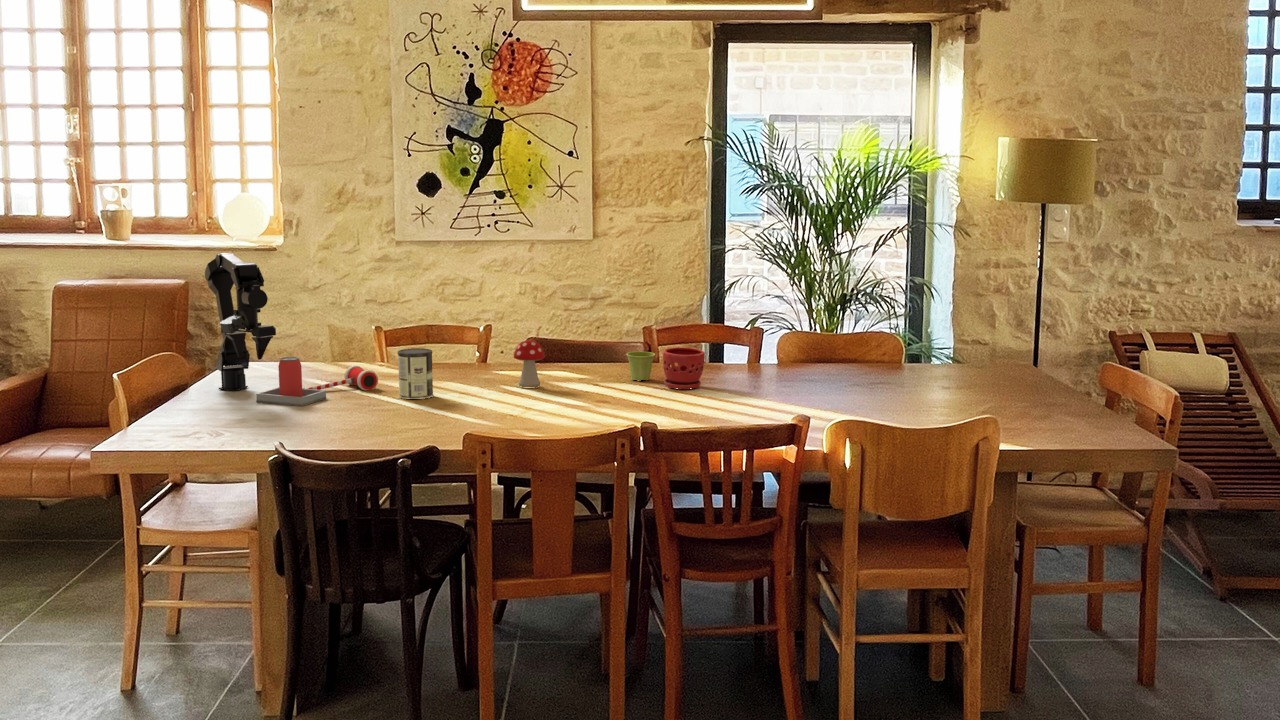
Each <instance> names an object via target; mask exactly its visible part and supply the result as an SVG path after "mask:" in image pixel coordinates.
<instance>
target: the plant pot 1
mask: <svg viewBox="0 0 1280 720" xmlns="http://www.w3.org/2000/svg"><path fill="white" fill-rule="evenodd" d="M625 355H626V356H627V359H628V365H629V373H630V379H631V381H633V380H640V381H639V382H641V380H649V379H651V376H652V375H651V373H652V368H653V367H652V366H653V362H654V359H655V356H656V353H654V352H650V351H629V352H627V353H626V354H625ZM649 381H650V380H649Z"/></svg>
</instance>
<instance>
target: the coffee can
mask: <svg viewBox="0 0 1280 720" xmlns="http://www.w3.org/2000/svg"><path fill="white" fill-rule="evenodd" d="M397 358H398V359H397V362H398V363H397V364H398V366H397V367H398V389H399V391H398V392H399V393H398V397H400V398H399V399H401V398H402V399H401V400H406V399H422V400H425V399H424V398H428V399H430V398H429V397H432V396H433V397H434V390H433V389H434V387H433V386H434V385H433V381H434V380H433V378H434V377H433V350H432V349H429V348H420V347H419V348H418V347H417V348H415V347H414V348H404V349H400V350H397ZM433 397H432V398H433Z"/></svg>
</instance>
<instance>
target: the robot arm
mask: <svg viewBox="0 0 1280 720" xmlns="http://www.w3.org/2000/svg"><path fill="white" fill-rule="evenodd" d="M204 278H205V280H206V282H207V285H208V288H209V289H210V291H211V292H212V293H213V294H214V295H215V300H216V305H217V311H218V318H219V326H220V331H221V332H220V333H221V334H222V341H221V343H220V346H219V349H218V350H219V352H218V354H217V357H216V361H215V365H216V366H215V367H216V370H217V371H219V372H220V374H221V378H220V379H221V387H220V386H219V387H218V390H219V389H224V390H223V391H230V390H237V391H240V390H239V389H241V390H243V389H242V388H244V389H248V388H249V385H246V383H247V381H246V374H245V370H249V366H250V356H251V354H250V353H249V350H248V349H247V343H246V336H247V333H249V334H250V333H251V336H252V337H251V339H252V341H253V342H254V343H255V351H256V358H257V360H262V359H263V357H264V355H265V352H266V349H267V347H268V345H269V343H270V342H271V339H273V338H274V336H276V335H277V328H276V327H275V326H274V325H270V324H269V325H267V324H264V325H262V322H259V318H258V317H259V316H258V315H259V313H261V312H262V311H261V309H263V308H264V307H265V306H266V304H267V303H268V295H267V293H266V292H265V291H264V290H262V289H261V287H265V285H264V283H265V280H264V276H263V274H262V271H261V270H260V267H259V266H258V265H257V263H256V262H245V261H243V260H241V259H240V258H238V257H237V256H236V254H235V253H232V252H222V253H221V252H219V253H217V254H216V256H215V258H214V259H212V260H211V261H209V262H208V263H207V264H206V267H205V269H204ZM233 286H235V291H236V292H235V293H236V309H235V308H234V304H233V297H232V289H233ZM247 387H248V388H247Z"/></svg>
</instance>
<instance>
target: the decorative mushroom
mask: <svg viewBox="0 0 1280 720" xmlns="http://www.w3.org/2000/svg"><path fill="white" fill-rule="evenodd" d="M513 359H515V360H518V361H523V365H522V369H521V374H520V379H519V381H518V385H519V387H520V386H522V387H538V386H539V387H540V385H541V380H540V379H539V376H538V371H537V370H538V369H537V366H536V361H540V360H543V359H546V354H545V351H544V349H543V347H542V346H541V344H540V343H539V342H537V341H536V340H533V339H527V340H526V339H525V340H523V341H521V342H520V343H518V345H517V346H516V347H515V351H514V353H513Z"/></svg>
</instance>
